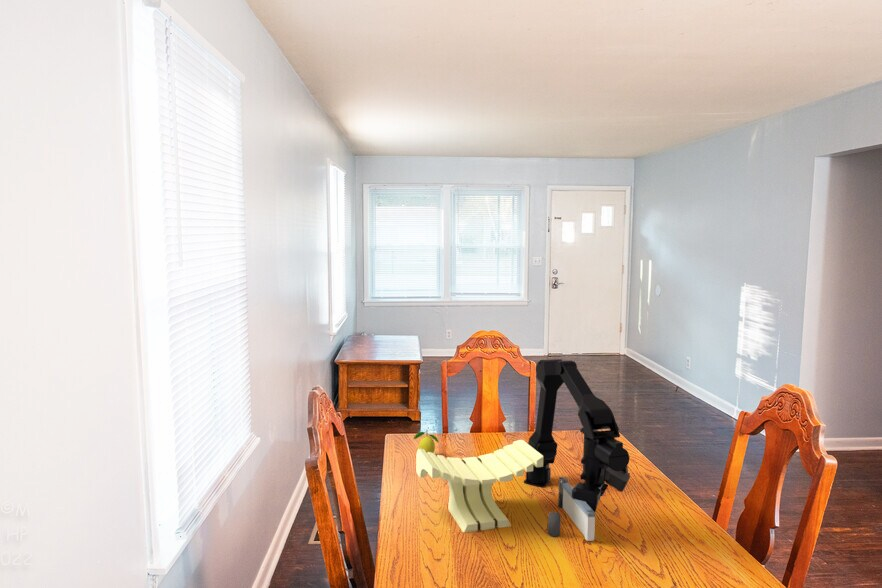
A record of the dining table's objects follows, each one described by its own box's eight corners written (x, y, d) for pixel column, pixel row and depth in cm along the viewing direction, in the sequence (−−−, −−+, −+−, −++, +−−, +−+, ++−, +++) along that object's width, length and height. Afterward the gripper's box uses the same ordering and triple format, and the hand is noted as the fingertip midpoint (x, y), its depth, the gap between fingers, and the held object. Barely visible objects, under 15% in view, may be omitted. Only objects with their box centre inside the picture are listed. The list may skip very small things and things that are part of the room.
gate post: (556, 507, 157) (557, 479, 157) (559, 503, 159) (560, 476, 159) (565, 509, 156) (566, 481, 155) (568, 506, 158) (569, 478, 157)
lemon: (413, 458, 191) (413, 429, 190) (422, 453, 196) (423, 425, 195) (429, 462, 188) (430, 433, 187) (439, 457, 193) (439, 428, 192)
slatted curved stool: (516, 496, 164) (518, 436, 162) (541, 522, 149) (543, 456, 147) (415, 508, 155) (416, 444, 154) (431, 537, 140) (432, 467, 139)
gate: (561, 507, 156) (562, 483, 155) (567, 507, 156) (568, 482, 156) (587, 540, 139) (588, 513, 138) (594, 540, 139) (595, 512, 138)
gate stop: (546, 534, 142) (546, 515, 142) (550, 529, 145) (550, 510, 144) (557, 538, 141) (558, 518, 140) (561, 532, 143) (562, 513, 143)
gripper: (619, 475, 131) (616, 539, 133) (635, 448, 148) (632, 505, 149) (572, 465, 137) (570, 526, 139) (592, 440, 153) (590, 495, 155)
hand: (592, 513), depth 145 cm, fingers closed
